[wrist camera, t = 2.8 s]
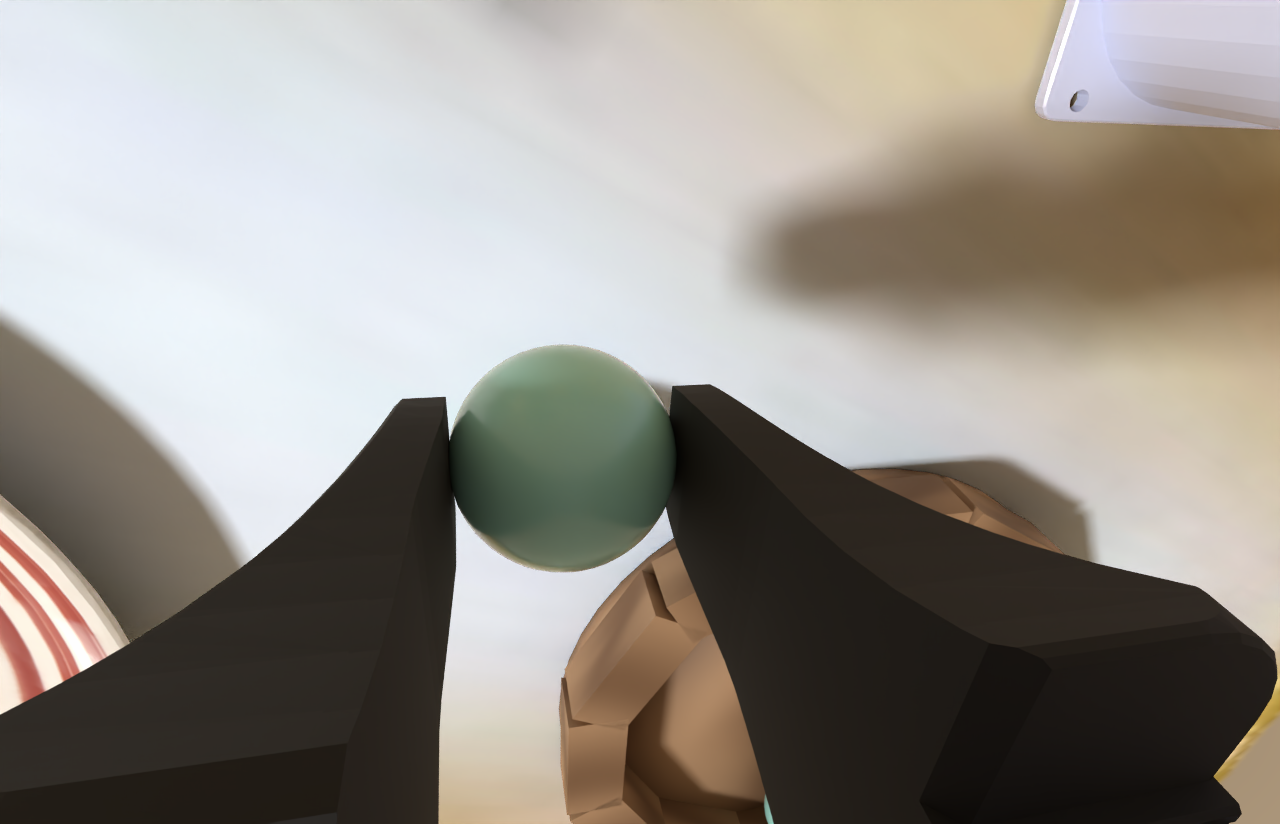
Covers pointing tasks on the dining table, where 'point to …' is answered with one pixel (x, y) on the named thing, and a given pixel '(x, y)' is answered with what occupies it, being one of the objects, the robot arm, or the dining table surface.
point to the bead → (562, 458)
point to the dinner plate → (45, 614)
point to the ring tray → (690, 687)
